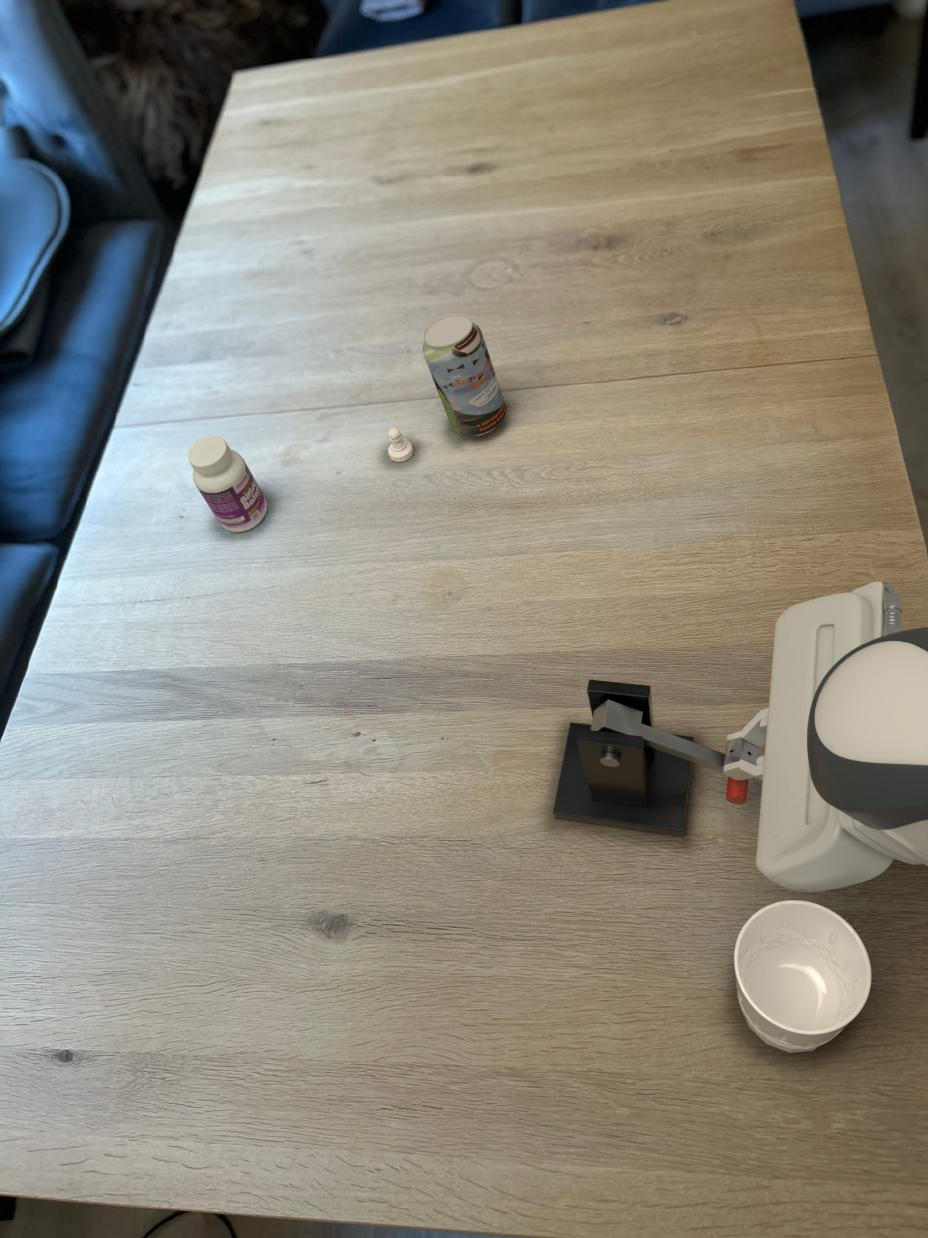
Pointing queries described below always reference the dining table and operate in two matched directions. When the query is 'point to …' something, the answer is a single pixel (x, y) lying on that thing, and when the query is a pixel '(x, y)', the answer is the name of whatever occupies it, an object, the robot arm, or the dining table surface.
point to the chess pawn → (399, 446)
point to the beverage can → (464, 375)
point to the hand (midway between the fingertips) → (730, 758)
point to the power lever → (664, 743)
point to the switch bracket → (622, 772)
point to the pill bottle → (226, 484)
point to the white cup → (800, 974)
